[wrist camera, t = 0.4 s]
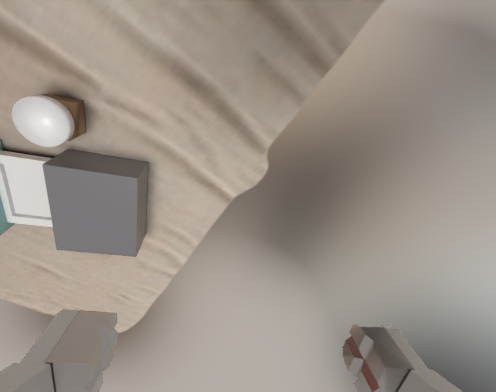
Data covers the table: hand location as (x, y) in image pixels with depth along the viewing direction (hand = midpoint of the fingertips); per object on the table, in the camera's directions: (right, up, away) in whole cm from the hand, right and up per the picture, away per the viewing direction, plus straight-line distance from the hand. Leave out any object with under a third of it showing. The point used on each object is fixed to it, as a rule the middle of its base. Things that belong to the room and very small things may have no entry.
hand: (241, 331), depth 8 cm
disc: (-28, +15, +26) cm, 41 cm away
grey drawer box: (-26, +5, +38) cm, 46 cm away
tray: (-36, +6, +36) cm, 51 cm away
